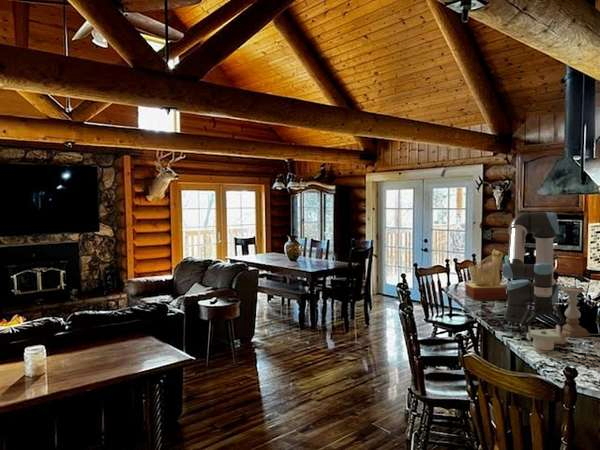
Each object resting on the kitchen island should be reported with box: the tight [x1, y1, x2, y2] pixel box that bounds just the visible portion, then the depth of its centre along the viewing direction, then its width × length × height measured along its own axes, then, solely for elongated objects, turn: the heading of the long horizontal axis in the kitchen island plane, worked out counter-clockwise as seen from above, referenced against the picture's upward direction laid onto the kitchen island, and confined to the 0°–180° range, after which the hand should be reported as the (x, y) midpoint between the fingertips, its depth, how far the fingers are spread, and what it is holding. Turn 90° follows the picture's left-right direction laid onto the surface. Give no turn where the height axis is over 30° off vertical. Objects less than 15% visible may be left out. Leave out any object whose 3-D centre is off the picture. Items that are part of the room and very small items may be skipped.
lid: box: [531, 329, 561, 341], centre depth 213 cm, size 11×11×3 cm
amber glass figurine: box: [465, 248, 507, 301], centre depth 325 cm, size 25×18×35 cm
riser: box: [546, 328, 567, 345], centre depth 221 cm, size 6×6×6 cm
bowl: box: [532, 338, 555, 351], centre depth 213 cm, size 8×8×5 cm
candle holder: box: [560, 286, 591, 338], centre depth 233 cm, size 11×11×24 cm
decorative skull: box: [480, 262, 503, 284], centre depth 363 cm, size 18×26×20 cm, turn 171°
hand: (543, 339), depth 213 cm, fingers open, 13 cm apart
